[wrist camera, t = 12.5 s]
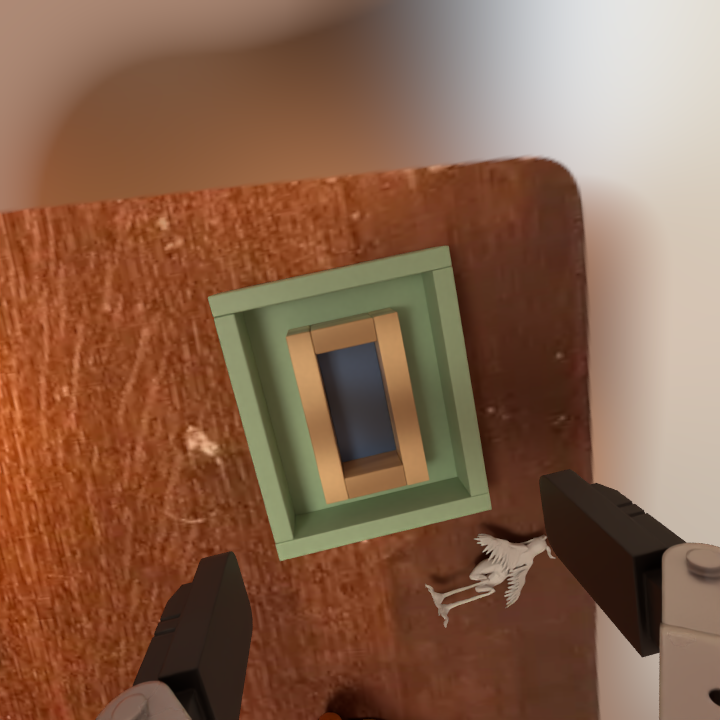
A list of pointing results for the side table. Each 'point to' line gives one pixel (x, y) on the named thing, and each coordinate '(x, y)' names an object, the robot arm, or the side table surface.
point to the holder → (286, 415)
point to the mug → (332, 717)
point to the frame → (358, 404)
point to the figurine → (497, 569)
